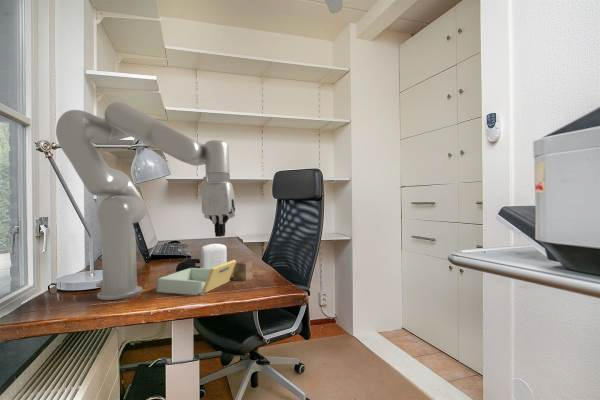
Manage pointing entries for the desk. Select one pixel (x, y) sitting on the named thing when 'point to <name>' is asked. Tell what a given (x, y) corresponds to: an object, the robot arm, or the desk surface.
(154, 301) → the desk surface
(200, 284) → the pale green tray
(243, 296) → the desk surface
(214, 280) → the tailgate
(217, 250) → the photo printer
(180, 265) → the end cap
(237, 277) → the walnut block
